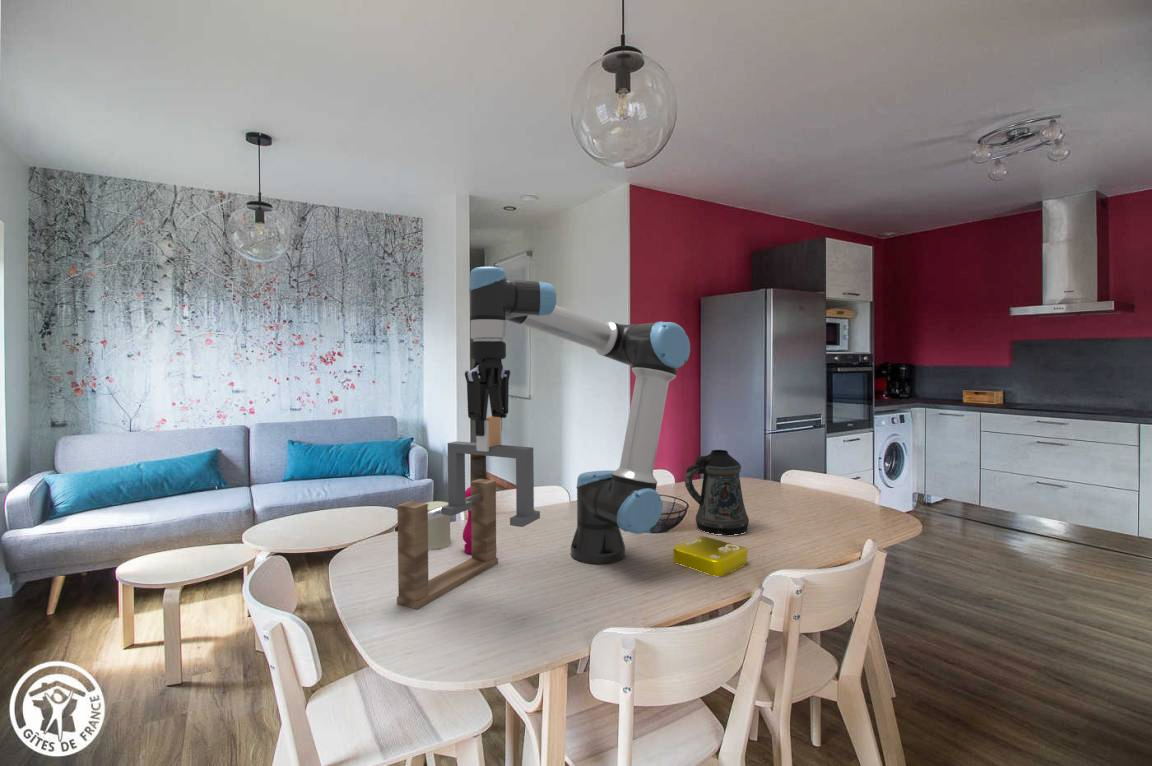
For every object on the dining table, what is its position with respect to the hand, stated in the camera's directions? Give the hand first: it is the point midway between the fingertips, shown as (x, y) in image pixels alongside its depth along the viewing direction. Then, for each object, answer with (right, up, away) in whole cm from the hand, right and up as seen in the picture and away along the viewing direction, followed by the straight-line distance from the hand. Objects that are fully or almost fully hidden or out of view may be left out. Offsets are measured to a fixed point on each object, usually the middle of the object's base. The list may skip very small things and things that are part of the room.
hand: (489, 449), depth 117 cm
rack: (-11, -34, +15) cm, 39 cm away
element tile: (+54, -34, +27) cm, 70 cm away
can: (-23, -33, +42) cm, 58 cm away
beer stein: (+64, -33, +56) cm, 91 cm away
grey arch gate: (0, -15, +1) cm, 15 cm away
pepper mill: (-10, -33, +36) cm, 50 cm away
